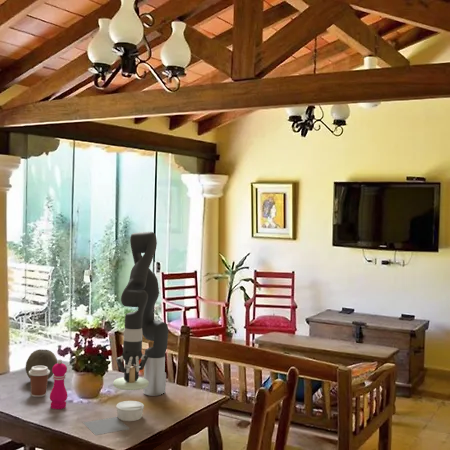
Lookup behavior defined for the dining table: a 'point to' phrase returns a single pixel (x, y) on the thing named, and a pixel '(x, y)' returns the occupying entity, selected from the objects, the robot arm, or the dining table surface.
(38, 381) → the coffee cup
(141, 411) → the ramekin
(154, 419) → the dining table surface
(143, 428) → the dining table surface
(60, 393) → the pepper mill
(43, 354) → the cantaloupe
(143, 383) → the lid
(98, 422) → the mat
